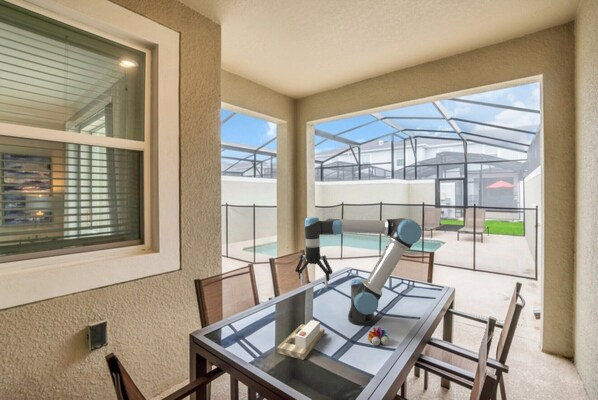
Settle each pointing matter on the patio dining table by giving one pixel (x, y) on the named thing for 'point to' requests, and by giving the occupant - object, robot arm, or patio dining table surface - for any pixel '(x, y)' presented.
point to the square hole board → (290, 350)
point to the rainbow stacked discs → (378, 336)
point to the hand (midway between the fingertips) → (314, 286)
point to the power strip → (307, 334)
